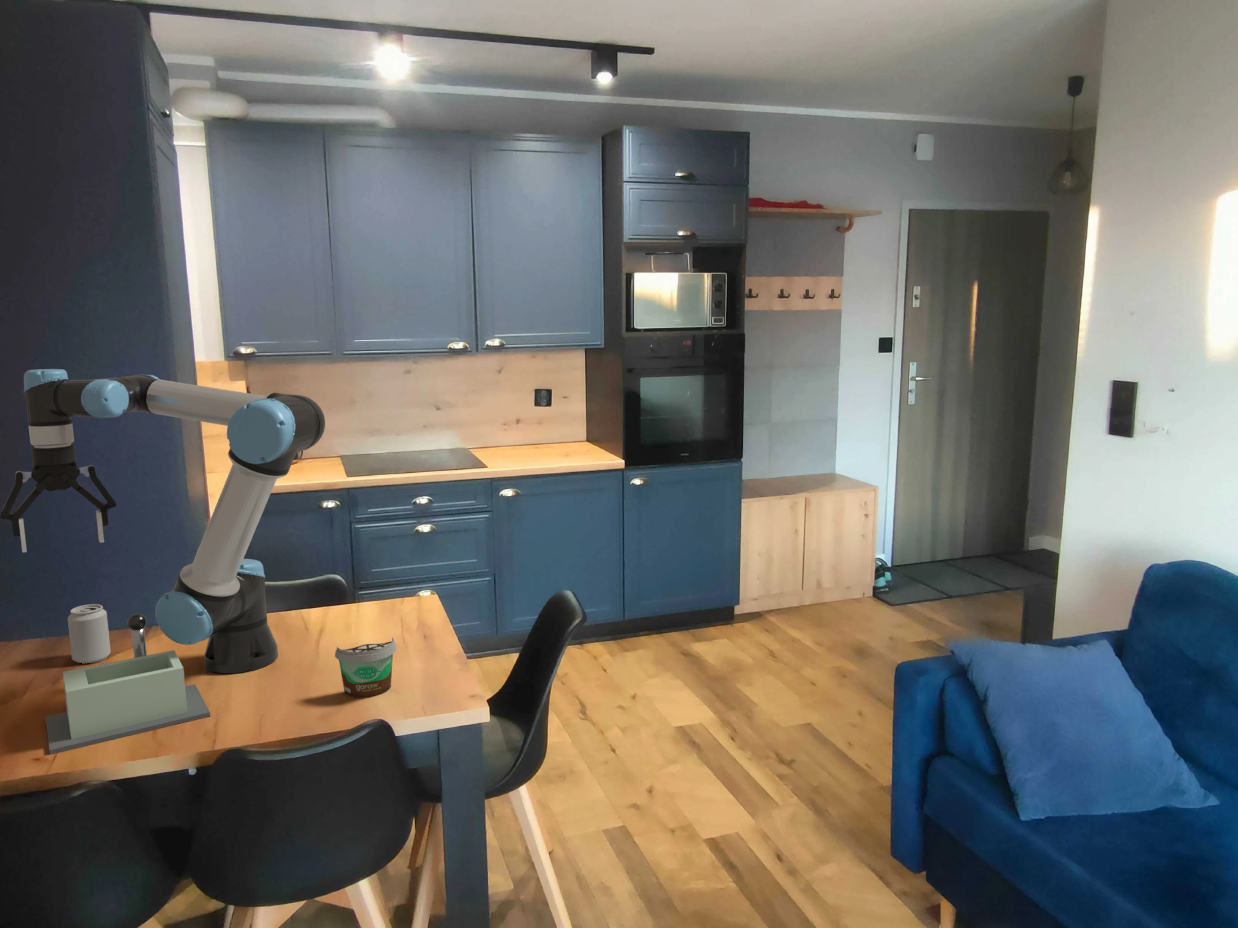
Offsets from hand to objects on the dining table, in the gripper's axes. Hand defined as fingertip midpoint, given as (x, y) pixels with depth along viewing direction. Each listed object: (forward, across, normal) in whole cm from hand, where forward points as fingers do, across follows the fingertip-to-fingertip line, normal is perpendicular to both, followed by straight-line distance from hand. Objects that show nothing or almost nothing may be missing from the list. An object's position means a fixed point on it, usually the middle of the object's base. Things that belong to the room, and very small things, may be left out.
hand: (63, 546), depth 182 cm
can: (+29, -3, -10) cm, 31 cm away
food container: (+29, -48, +44) cm, 72 cm away
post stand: (+29, -11, +11) cm, 33 cm away
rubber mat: (+29, -6, +29) cm, 41 cm away
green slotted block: (+28, -6, +29) cm, 41 cm away
